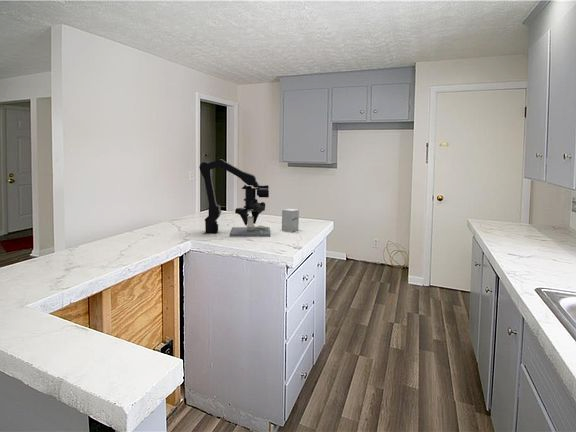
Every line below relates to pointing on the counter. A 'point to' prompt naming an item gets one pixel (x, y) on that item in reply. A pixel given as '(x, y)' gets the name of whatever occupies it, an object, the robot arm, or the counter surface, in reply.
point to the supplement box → (290, 220)
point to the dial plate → (250, 232)
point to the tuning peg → (252, 224)
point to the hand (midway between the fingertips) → (250, 224)
